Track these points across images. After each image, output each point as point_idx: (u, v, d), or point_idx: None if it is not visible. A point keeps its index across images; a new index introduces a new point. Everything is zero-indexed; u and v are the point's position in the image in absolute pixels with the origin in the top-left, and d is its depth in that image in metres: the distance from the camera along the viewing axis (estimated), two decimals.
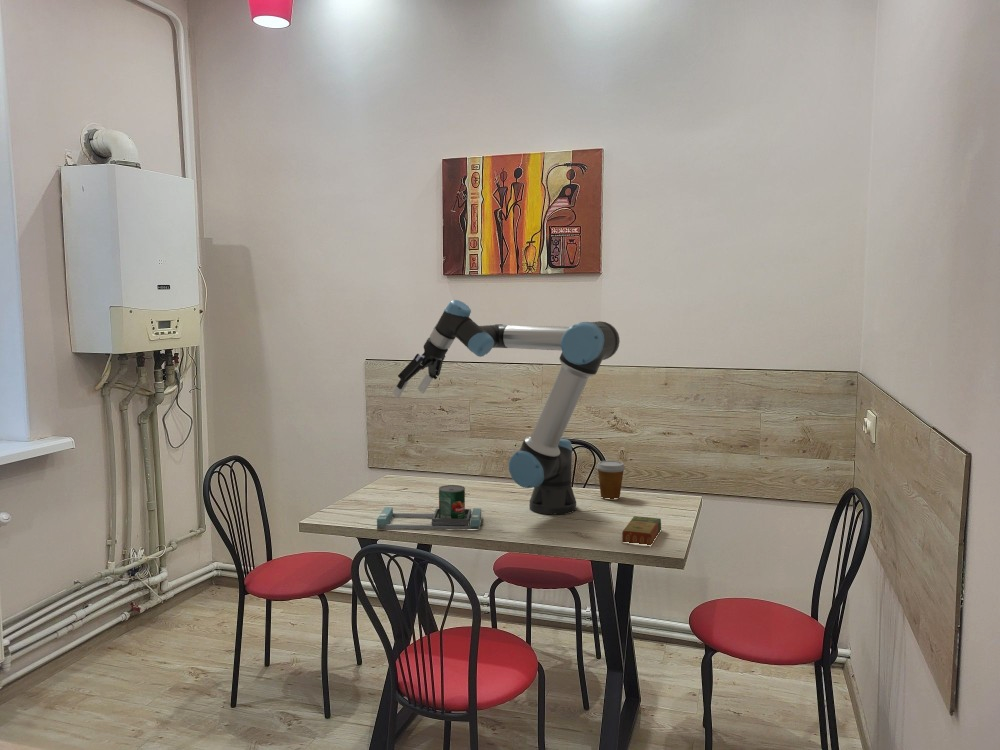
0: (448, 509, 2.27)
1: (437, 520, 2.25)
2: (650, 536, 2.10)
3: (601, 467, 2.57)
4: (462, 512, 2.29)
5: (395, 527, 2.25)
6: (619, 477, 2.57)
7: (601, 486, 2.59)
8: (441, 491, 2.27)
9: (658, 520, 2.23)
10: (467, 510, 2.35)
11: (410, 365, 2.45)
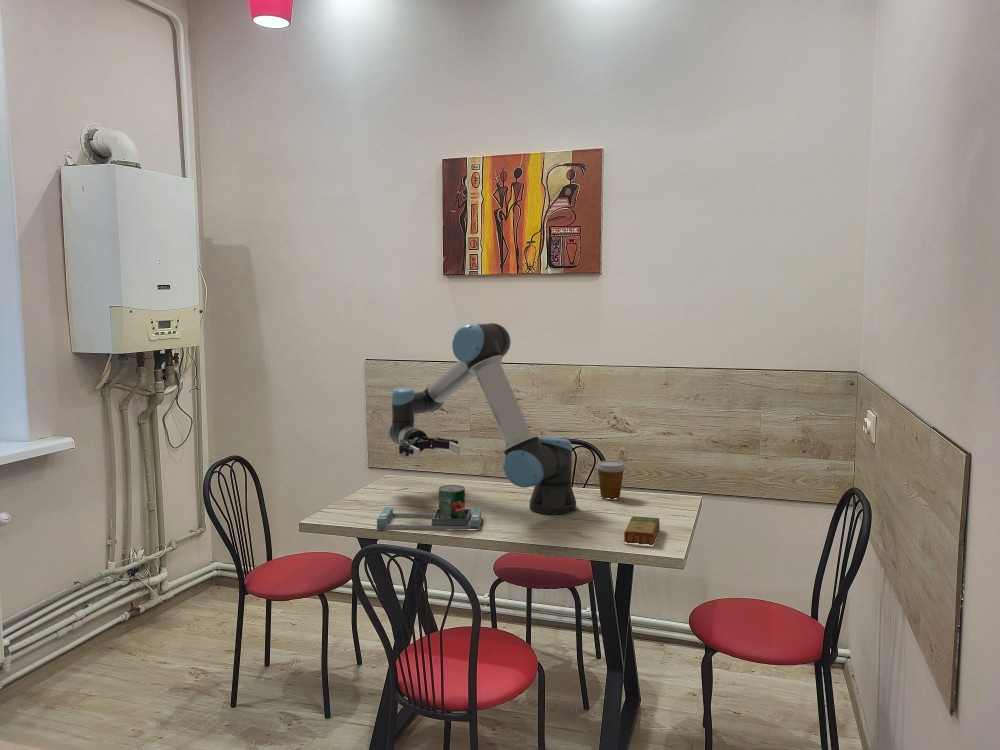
0: (448, 509, 2.27)
1: (437, 520, 2.25)
2: (652, 536, 2.10)
3: (601, 467, 2.57)
4: (462, 512, 2.29)
5: (395, 527, 2.25)
6: (619, 477, 2.57)
7: (601, 486, 2.59)
8: (441, 491, 2.27)
9: (657, 520, 2.23)
10: (467, 510, 2.35)
11: None
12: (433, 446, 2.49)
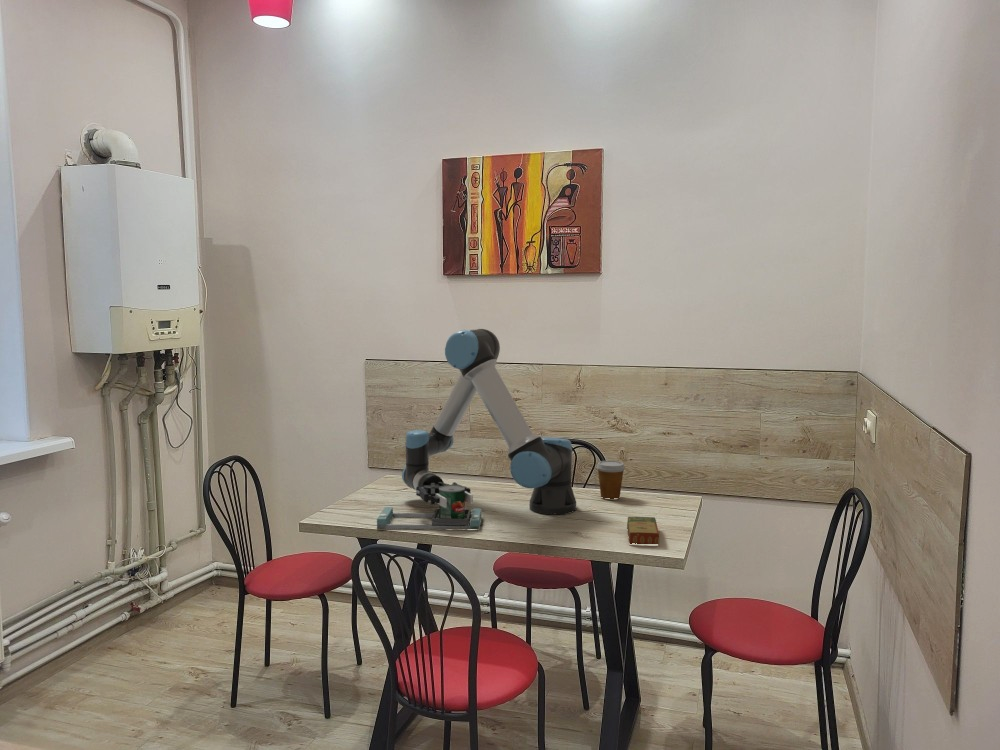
0: (448, 509, 2.27)
1: (437, 520, 2.25)
2: (658, 536, 2.10)
3: (601, 467, 2.57)
4: (462, 512, 2.29)
5: (395, 527, 2.25)
6: (619, 477, 2.57)
7: (601, 486, 2.59)
8: (441, 491, 2.27)
9: (654, 519, 2.24)
10: (467, 510, 2.35)
11: (421, 495, 2.34)
12: None
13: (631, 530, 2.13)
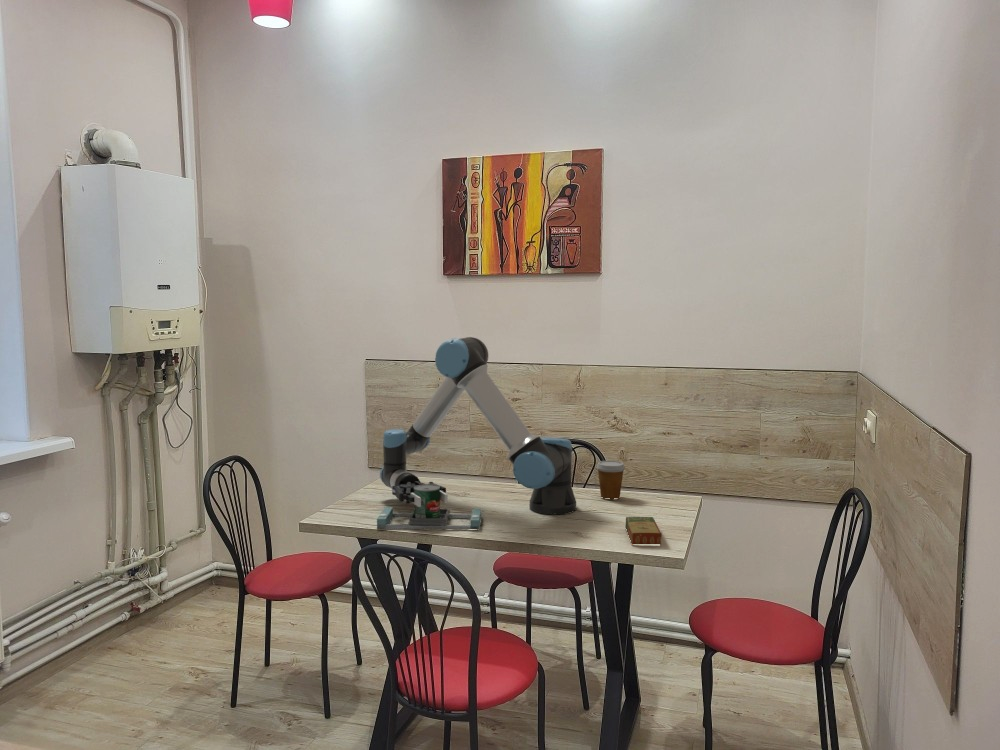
0: (422, 508, 2.27)
1: (414, 520, 2.26)
2: (660, 535, 2.11)
3: (601, 467, 2.57)
4: (437, 511, 2.29)
5: (395, 527, 2.25)
6: (619, 477, 2.57)
7: (601, 486, 2.59)
8: (416, 490, 2.28)
9: (652, 519, 2.24)
10: (445, 510, 2.36)
11: (396, 494, 2.34)
12: None
13: (633, 530, 2.12)
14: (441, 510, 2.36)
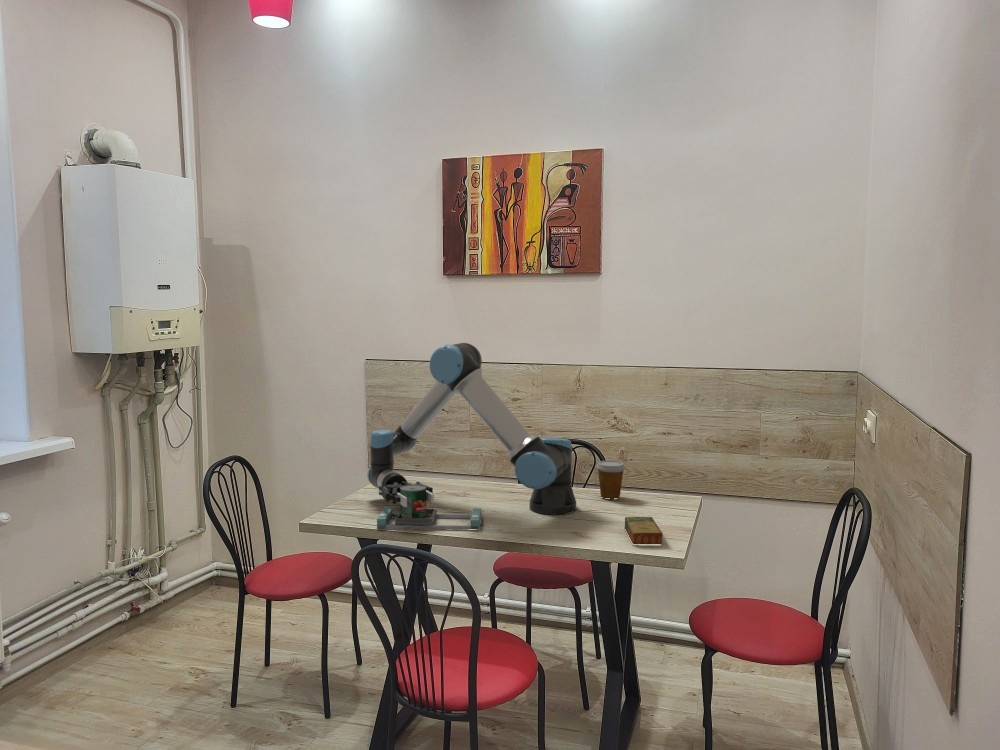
0: (408, 508, 2.27)
1: (401, 520, 2.26)
2: (661, 535, 2.11)
3: (601, 467, 2.57)
4: (423, 511, 2.29)
5: (395, 527, 2.25)
6: (619, 477, 2.57)
7: (601, 486, 2.59)
8: (402, 490, 2.28)
9: (651, 518, 2.24)
10: (432, 510, 2.36)
11: (383, 494, 2.34)
12: None
13: (634, 531, 2.12)
14: (428, 510, 2.36)
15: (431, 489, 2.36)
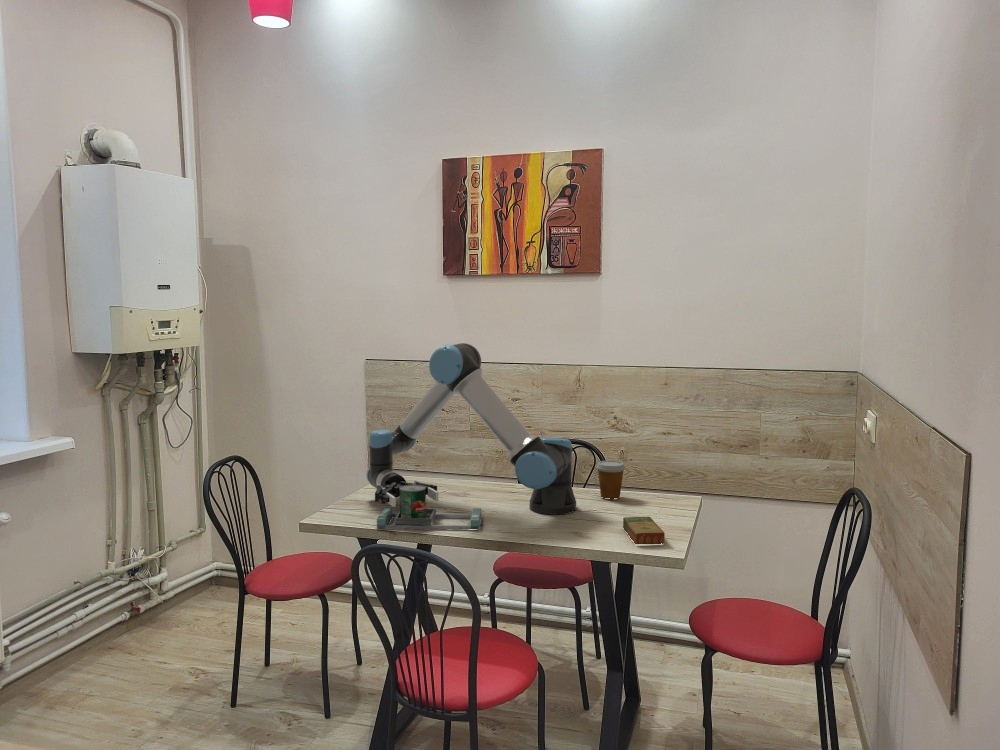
0: (408, 508, 2.27)
1: (400, 519, 2.26)
2: (663, 535, 2.11)
3: (601, 467, 2.57)
4: (423, 511, 2.29)
5: (395, 527, 2.25)
6: (619, 477, 2.57)
7: (601, 486, 2.59)
8: (401, 490, 2.28)
9: (650, 518, 2.24)
10: (431, 510, 2.36)
11: None
12: None
13: (636, 531, 2.12)
14: (427, 510, 2.36)
15: (436, 487, 2.39)
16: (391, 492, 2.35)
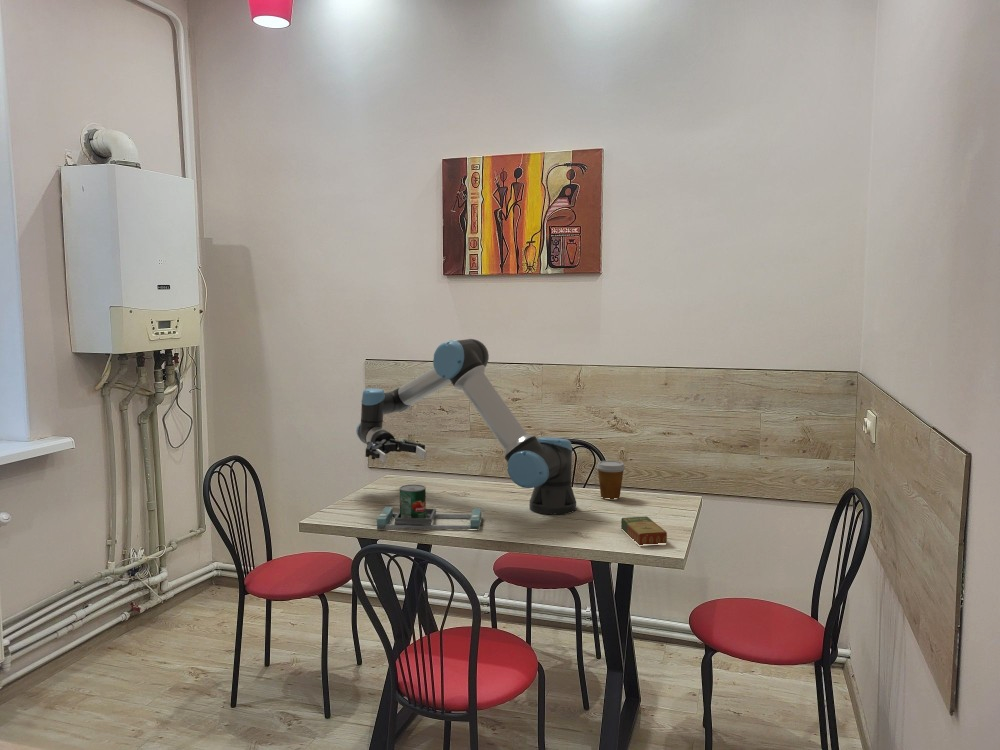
0: (408, 508, 2.27)
1: (400, 519, 2.26)
2: (666, 534, 2.11)
3: (601, 467, 2.57)
4: (423, 511, 2.29)
5: (395, 527, 2.25)
6: (619, 477, 2.57)
7: (601, 486, 2.59)
8: (401, 490, 2.28)
9: (648, 518, 2.25)
10: (431, 510, 2.36)
11: None
12: (400, 449, 2.51)
13: (639, 531, 2.12)
14: (427, 510, 2.36)
15: (424, 446, 2.50)
16: (381, 449, 2.47)
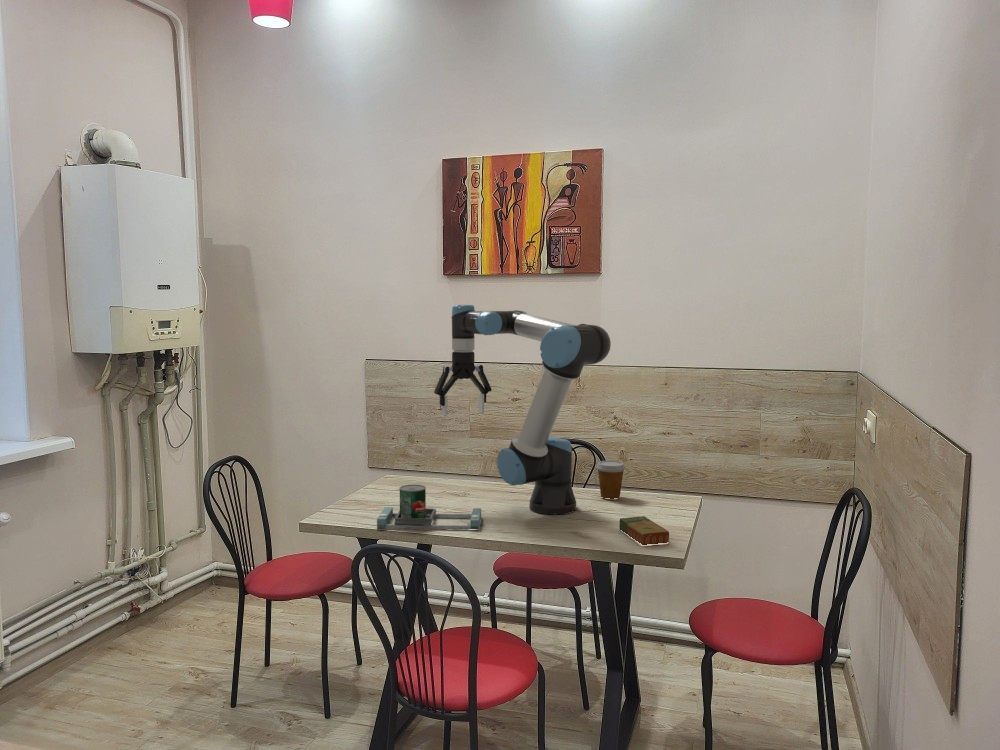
0: (408, 508, 2.27)
1: (400, 519, 2.26)
2: (668, 534, 2.12)
3: (601, 467, 2.57)
4: (423, 511, 2.29)
5: (395, 527, 2.25)
6: (619, 477, 2.57)
7: (601, 486, 2.59)
8: (401, 491, 2.28)
9: (646, 518, 2.25)
10: (431, 510, 2.36)
11: (441, 378, 2.53)
12: (470, 378, 2.59)
13: (641, 531, 2.12)
14: (427, 510, 2.36)
15: None
16: None
